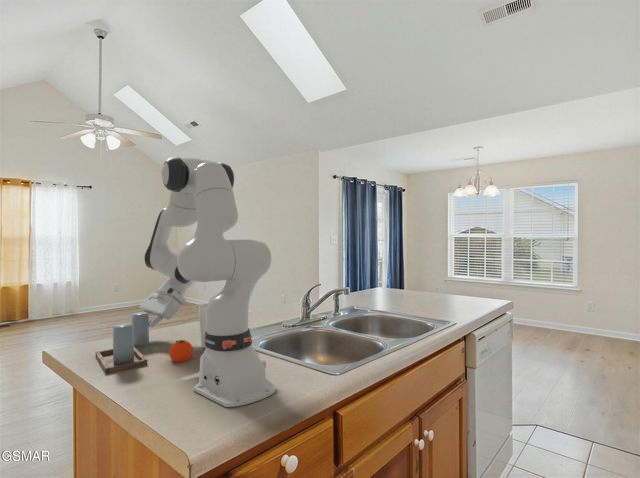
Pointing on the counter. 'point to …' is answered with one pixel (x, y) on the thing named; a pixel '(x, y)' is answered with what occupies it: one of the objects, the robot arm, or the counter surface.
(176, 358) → the clementine
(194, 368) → the counter surface
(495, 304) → the counter surface
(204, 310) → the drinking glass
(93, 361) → the counter surface
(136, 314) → the post
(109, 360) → the tray
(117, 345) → the grey tall cylinder
